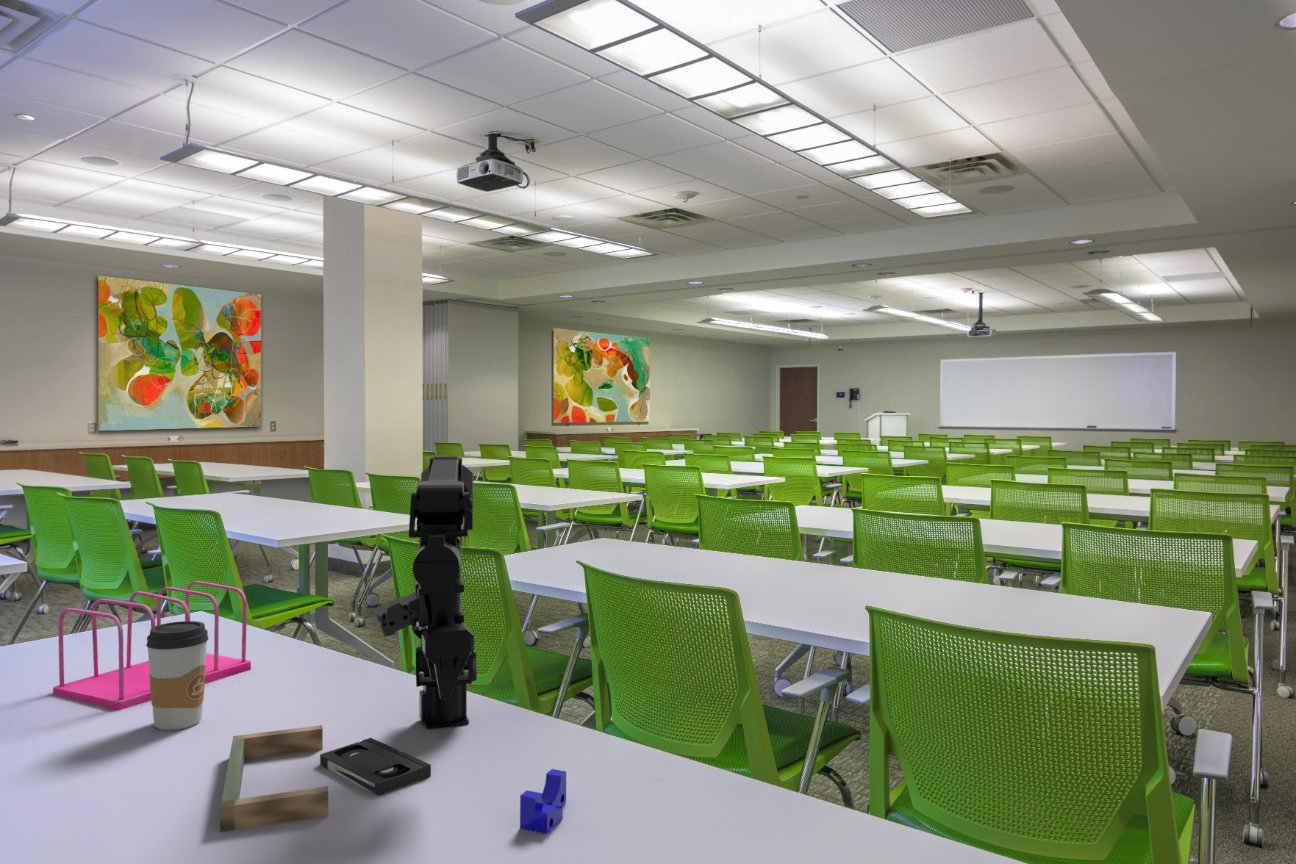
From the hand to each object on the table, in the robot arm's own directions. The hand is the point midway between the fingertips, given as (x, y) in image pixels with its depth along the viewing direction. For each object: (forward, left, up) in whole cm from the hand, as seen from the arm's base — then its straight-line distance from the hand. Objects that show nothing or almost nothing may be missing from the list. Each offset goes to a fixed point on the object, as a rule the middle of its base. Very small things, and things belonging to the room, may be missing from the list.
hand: (439, 689), depth 118 cm
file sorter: (+41, -52, -10) cm, 67 cm away
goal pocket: (+20, 0, -10) cm, 22 cm away
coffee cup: (+35, -28, -10) cm, 46 cm away
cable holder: (-10, +21, -10) cm, 25 cm away
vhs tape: (+9, 0, -11) cm, 14 cm away
